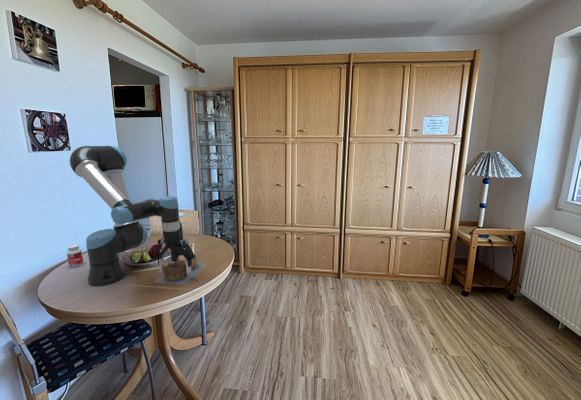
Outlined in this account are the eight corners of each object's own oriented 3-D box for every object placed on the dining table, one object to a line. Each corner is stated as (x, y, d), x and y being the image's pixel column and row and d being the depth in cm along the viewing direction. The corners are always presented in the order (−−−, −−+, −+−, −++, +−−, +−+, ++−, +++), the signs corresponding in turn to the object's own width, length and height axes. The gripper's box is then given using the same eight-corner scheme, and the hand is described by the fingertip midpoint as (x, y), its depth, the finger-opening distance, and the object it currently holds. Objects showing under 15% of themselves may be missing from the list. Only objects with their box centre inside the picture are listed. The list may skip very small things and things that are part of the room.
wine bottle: (187, 259, 151) (183, 207, 145) (177, 264, 145) (172, 210, 139) (178, 257, 154) (173, 206, 148) (168, 261, 148) (163, 209, 142)
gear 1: (160, 281, 124) (159, 269, 123) (172, 272, 134) (171, 261, 133) (179, 282, 123) (178, 270, 122) (190, 273, 132) (189, 262, 131)
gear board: (153, 283, 124) (152, 274, 123) (179, 263, 145) (178, 255, 144) (185, 286, 122) (184, 276, 121) (206, 265, 143) (206, 256, 142)
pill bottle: (68, 268, 140) (64, 249, 138) (70, 264, 146) (66, 245, 143) (83, 266, 144) (79, 246, 141) (84, 262, 149) (81, 243, 147)
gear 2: (174, 270, 135) (173, 257, 134) (184, 262, 144) (183, 250, 143) (192, 271, 134) (190, 258, 132) (201, 263, 143) (200, 251, 142)
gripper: (141, 231, 122) (147, 273, 126) (192, 233, 118) (196, 277, 122) (152, 226, 129) (157, 267, 133) (200, 228, 126) (203, 269, 130)
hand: (175, 271), depth 128 cm, fingers open, 13 cm apart
